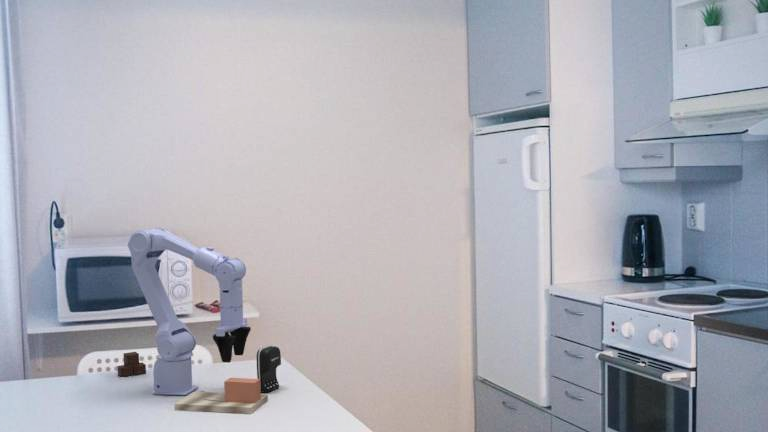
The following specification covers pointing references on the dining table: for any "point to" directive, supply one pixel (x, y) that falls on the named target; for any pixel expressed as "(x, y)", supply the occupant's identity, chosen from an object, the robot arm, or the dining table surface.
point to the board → (216, 403)
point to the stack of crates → (131, 366)
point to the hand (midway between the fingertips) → (232, 358)
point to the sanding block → (242, 390)
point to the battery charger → (268, 367)
